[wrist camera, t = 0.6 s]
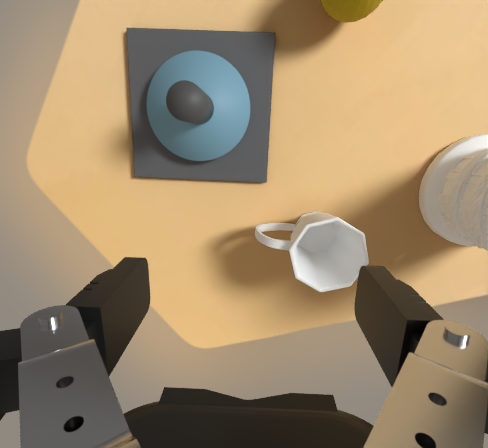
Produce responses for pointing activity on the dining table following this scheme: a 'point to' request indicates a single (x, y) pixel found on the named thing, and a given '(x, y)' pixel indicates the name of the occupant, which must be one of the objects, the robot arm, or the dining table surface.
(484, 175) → the decorative container
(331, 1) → the lemon
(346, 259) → the cup
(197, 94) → the lid
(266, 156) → the mat
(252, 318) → the dining table surface
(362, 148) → the dining table surface
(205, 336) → the dining table surface
